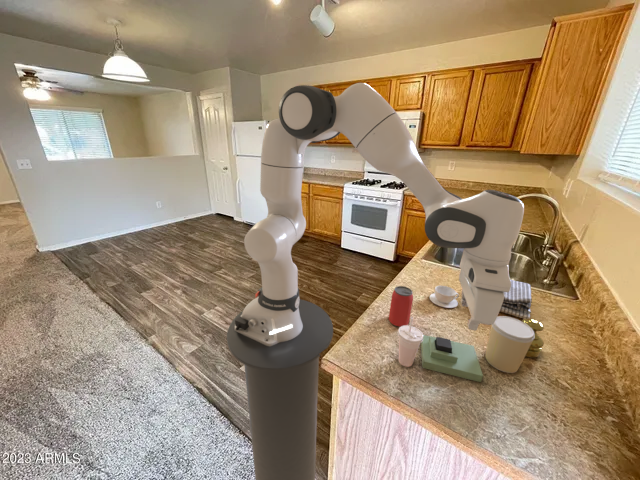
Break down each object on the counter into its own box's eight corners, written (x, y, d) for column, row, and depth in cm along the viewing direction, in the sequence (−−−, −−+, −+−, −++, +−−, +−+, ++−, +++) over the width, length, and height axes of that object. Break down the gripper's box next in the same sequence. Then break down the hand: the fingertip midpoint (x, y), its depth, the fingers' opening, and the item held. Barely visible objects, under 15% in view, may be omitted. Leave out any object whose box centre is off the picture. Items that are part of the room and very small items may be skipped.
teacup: (433, 307, 96) (435, 296, 95) (426, 293, 106) (428, 282, 104) (461, 310, 95) (464, 299, 94) (452, 295, 105) (454, 284, 103)
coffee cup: (511, 352, 77) (524, 318, 72) (528, 378, 68) (544, 341, 64) (477, 346, 78) (487, 313, 74) (489, 372, 70) (501, 335, 65)
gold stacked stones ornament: (541, 349, 78) (552, 321, 75) (536, 362, 73) (548, 333, 70) (511, 336, 83) (521, 309, 79) (505, 348, 78) (515, 320, 75)
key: (436, 350, 72) (437, 345, 71) (435, 341, 75) (436, 336, 74) (450, 353, 71) (452, 348, 70) (449, 344, 74) (450, 339, 73)
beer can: (406, 330, 84) (411, 298, 80) (385, 323, 87) (390, 292, 83) (410, 319, 90) (416, 288, 85) (391, 313, 93) (395, 283, 88)
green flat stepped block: (422, 367, 70) (424, 356, 69) (420, 340, 80) (422, 329, 79) (481, 382, 67) (485, 370, 65) (471, 351, 76) (475, 340, 75)
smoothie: (409, 351, 76) (417, 310, 71) (422, 368, 70) (431, 325, 65) (389, 354, 75) (395, 312, 70) (400, 372, 69) (408, 328, 64)
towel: (526, 298, 104) (532, 280, 101) (529, 322, 90) (536, 303, 87) (482, 286, 112) (487, 269, 109) (478, 306, 98) (483, 288, 95)
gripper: (460, 246, 69) (448, 291, 74) (477, 283, 51) (460, 340, 56) (487, 250, 67) (473, 296, 72) (514, 289, 49) (493, 348, 54)
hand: (467, 315), depth 64 cm, fingers open, 8 cm apart
